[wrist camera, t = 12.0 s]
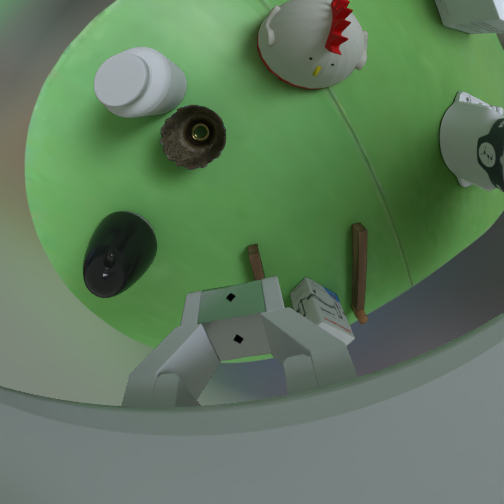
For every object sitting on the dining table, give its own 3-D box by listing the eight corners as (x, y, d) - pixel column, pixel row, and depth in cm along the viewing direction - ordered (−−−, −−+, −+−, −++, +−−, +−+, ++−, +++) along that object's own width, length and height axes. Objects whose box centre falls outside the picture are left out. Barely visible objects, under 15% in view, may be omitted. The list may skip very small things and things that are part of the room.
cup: (208, 95, 32) (200, 91, 25) (238, 137, 35) (239, 143, 28) (164, 128, 33) (147, 133, 26) (195, 167, 37) (185, 181, 30)
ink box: (337, 294, 50) (357, 338, 40) (320, 311, 52) (336, 356, 42) (305, 275, 47) (322, 321, 37) (287, 294, 49) (299, 342, 39)
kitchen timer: (249, 78, 31) (258, 58, 18) (264, -3, 24) (280, -53, 11) (345, 99, 33) (402, 100, 20) (357, 22, 26) (412, -6, 13)
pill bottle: (187, 113, 33) (157, 116, 20) (133, 117, 32) (79, 126, 19) (190, 60, 29) (162, 32, 16) (135, 65, 28) (82, 49, 15)
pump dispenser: (174, 222, 41) (148, 280, 28) (147, 268, 45) (120, 331, 31) (120, 189, 37) (71, 233, 24) (98, 239, 41) (56, 293, 28)
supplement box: (427, -14, 19) (479, -30, 6) (458, -2, 18) (508, -11, 6) (442, 26, 24) (500, 19, 11) (471, 35, 23) (525, 34, 10)
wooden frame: (360, 222, 42) (379, 242, 36) (358, 306, 52) (371, 330, 46) (229, 249, 44) (228, 275, 37) (253, 329, 53) (255, 357, 47)
